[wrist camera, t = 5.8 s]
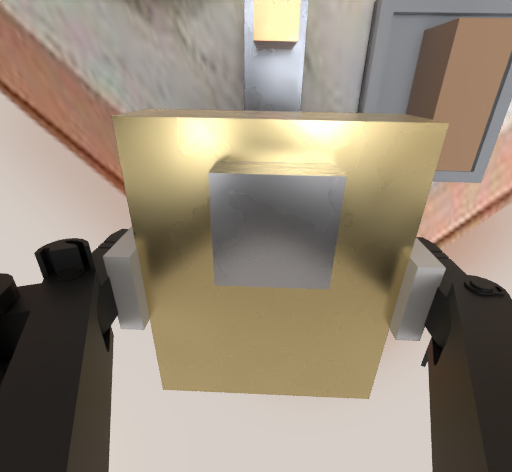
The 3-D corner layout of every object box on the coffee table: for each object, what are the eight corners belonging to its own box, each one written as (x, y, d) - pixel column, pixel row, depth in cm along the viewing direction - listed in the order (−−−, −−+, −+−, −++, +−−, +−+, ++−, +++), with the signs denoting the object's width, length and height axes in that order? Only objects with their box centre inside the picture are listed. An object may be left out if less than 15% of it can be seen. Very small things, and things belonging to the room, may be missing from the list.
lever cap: (148, 108, 9) (84, 121, 6) (405, 114, 9) (481, 130, 6) (180, 340, 14) (152, 420, 11) (352, 347, 14) (379, 431, 10)
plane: (250, 15, 25) (238, -32, 15) (298, 16, 25) (318, -31, 15) (248, 248, 35) (240, 312, 25) (283, 249, 34) (289, 314, 25)
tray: (374, 2, 24) (405, -23, 19) (527, 3, 24) (603, -21, 18) (347, 173, 30) (364, 192, 25) (468, 177, 30) (511, 196, 25)
